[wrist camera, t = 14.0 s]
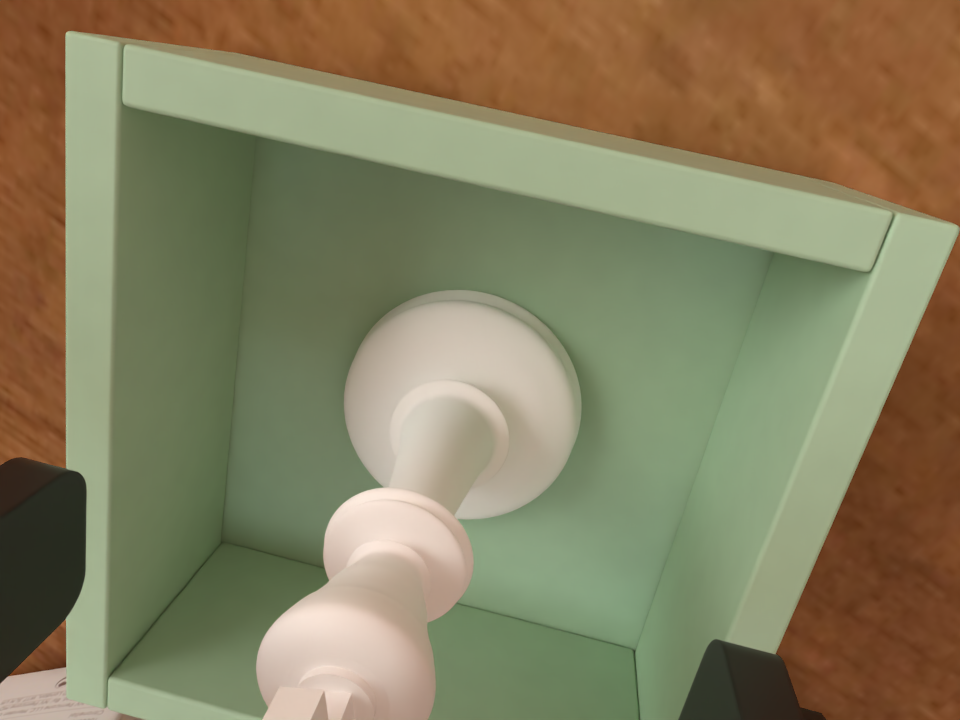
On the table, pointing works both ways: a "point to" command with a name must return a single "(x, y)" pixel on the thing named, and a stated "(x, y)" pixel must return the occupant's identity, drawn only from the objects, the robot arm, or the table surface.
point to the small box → (47, 699)
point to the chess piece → (420, 498)
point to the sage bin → (430, 268)
